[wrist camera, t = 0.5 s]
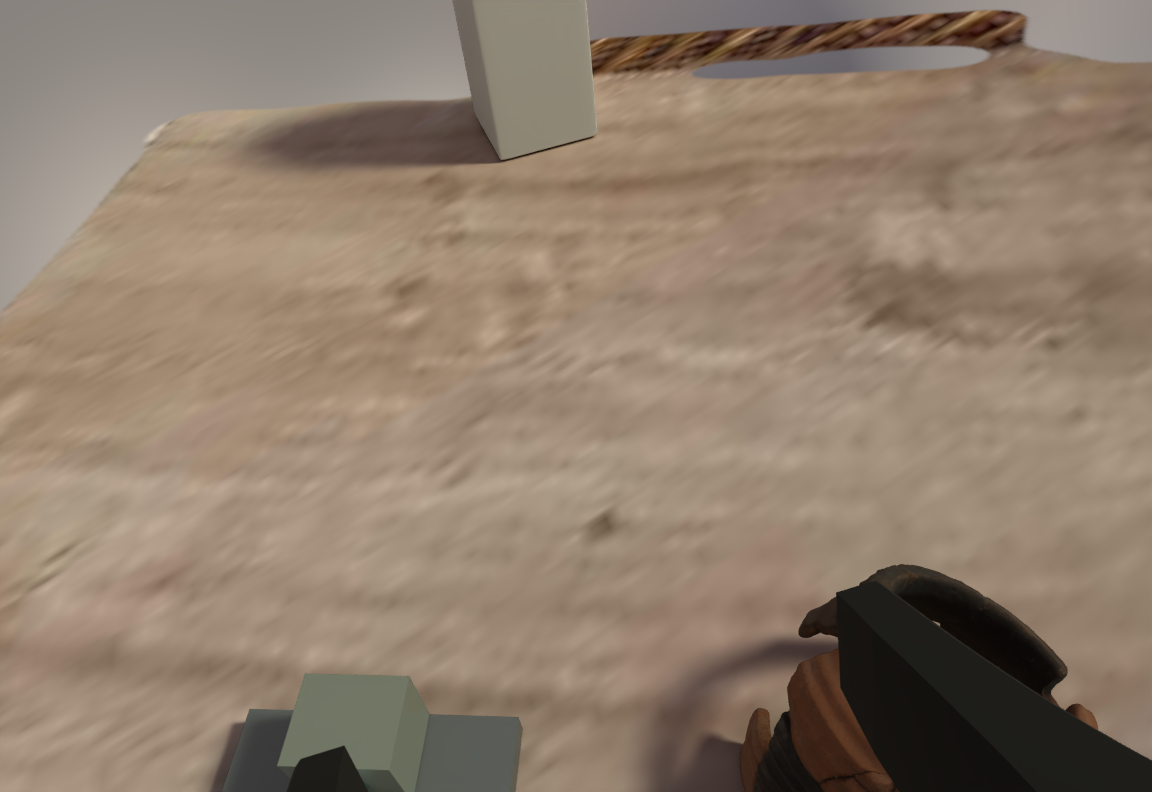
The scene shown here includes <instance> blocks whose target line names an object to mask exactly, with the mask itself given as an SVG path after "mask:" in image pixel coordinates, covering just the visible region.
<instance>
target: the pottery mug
mask: <svg viewBox="0 0 1152 792" xmlns="http://www.w3.org/2000/svg"><path fill="white" fill-rule="evenodd" d="M872 581H877V582H879V583H881V584H883V585H884V586H885V587H887V588H888V589H889V590H891V591H892V592H893V593H895V594H896V595H897V596H899V597H900V598H902V599H903V600H904V601H906V602H907V603H908V604H910V605H911V606H912V607H914V608H915V609H916V610H918V611H919V612H920V613H922V614H923V615H925V616H926V617H927V618H929V619H930V620H931V621H935V622H938V623H940V627H941V628H942V629H944V630H945V631H947V632H948V633H949V634H951V635H952V636H954V637H955V638H956V639H958V640H959V641H961V642H962V643H963V644H965V645H966V646H968V647H969V648H971V649H972V650H974V651H975V652H976V653H978V654H979V655H981V656H982V657H984V658H985V659H987V660H988V661H990V662H991V663H993V664H994V665H996V666H997V667H999V668H1000V669H1002V670H1003V671H1005V672H1006V673H1008V674H1009V675H1011V676H1012V677H1014V678H1015V679H1017V680H1018V681H1020V682H1021V683H1023V684H1024V685H1026V686H1027V687H1029V688H1030V689H1032V690H1033V691H1035V692H1036V693H1038V694H1040V695H1041V696H1043V697H1044V698H1046V699H1047V700H1049V701H1051V702H1052V703H1054V704H1055V705H1057V706H1059V705H1058V704H1057V702H1056V700H1055V699H1054V698H1053V697H1052V695H1051V690H1052V689H1053V688H1054V687H1055V685H1056V684H1058V683H1059V682H1061V681H1062V680H1063V679H1064V678H1065V677H1066V676H1067V670H1068V669H1067V667H1066V665H1065V664H1064V662H1063V661H1062V660H1061V659H1060V658H1059V657H1058V656H1057V655H1056V654H1055V652H1054V651H1053V650H1052V649H1051V648H1050V647H1049V646H1048V645H1047V644H1046V643H1045V642H1044V641H1043V640H1042V639H1041V638H1040V637H1039V636H1038V635H1037V634H1036V633H1035V632H1034V631H1033V630H1032V629H1030V628H1029V627H1028V626H1027V625H1026V624H1024V623H1023V622H1022V621H1020V620H1019V619H1018V618H1017V617H1016V616H1014V615H1013V614H1012V613H1010V612H1009V611H1008V610H1006V609H1005V608H1004V607H1002V606H1001V605H999V604H997V603H995V602H994V601H993V600H991V599H990V598H987V597H984V596H983V595H982V594H981V593H979V592H978V591H976V590H975V589H973V588H971V587H969V586H967V585H966V584H964V583H963V582H961V581H959V580H956V579H953V578H950V577H948V576H946V575H944V574H942V573H940V572H937V571H934V570H930V569H927V568H923V567H920V566H915V565H904V564H900V565H898V566H896V565H894V566H890V567H887V568H885V569H881V570H878V571H877V572H876V573H875V574H873V575H871V576H870V577H869V578H868V579H867V580H865V581H863V582H861V583H860V584H859V585H863V584H866V583H869V582H872ZM819 633H823V634H825V635H832V636H835V637H838V622H837V599H836V597H835V598H833V599H831V600H830V601H829V602H828V603H826V604H824V605H822V606H821V607H818V608H816V609H813V610H811V611H809V612H808V614H807V615H806V617H805V619H804V620H803V622H802V624H801V626H800V627H799V636H800V637H803V638H809V637H812V636H814V635H816V634H819ZM787 691H788V700H789V707H790V710H789V711H788V712H784V713H782V715H781V718H780V720H779V721H778V723H777V724H776V727H775V729H774V735H773V737H772V738H771V733H770V720H769V712H768V710H766V709H762V708H758V709H756V710H755V711H754V713H753V714H752V716H751V718H750V721H749V725H748V729H747V733H746V739H745V742H744V743H743V746H742V748H741V752H740V769H741V776H742V782H743V786H744V789H745V792H899V791H898V789H897V787H896V786H895V784H894V783H893V781H892V780H891V778H890V777H889V775H888V774H887V772H886V771H885V769H884V768H883V766H882V765H881V763H880V762H879V760H878V758H877V757H876V755H875V754H874V752H873V750H872V748H871V746H870V744H869V742H868V741H867V739H866V737H865V735H864V733H863V731H862V729H861V727H860V726H859V724H858V722H857V720H856V718H855V716H854V714H853V712H852V710H851V708H850V706H849V704H848V702H847V700H846V698H845V696H844V694H843V692H842V690H841V688H840V667H839V649H835V650H833V651H832V652H830V653H824V654H821V655H818V656H815V657H814V658H812V659H808V660H806V661H803V662H801V663H800V664H799V665H798V667H797V670H796V672H795V673H794V674H793V676H792V677H791V680H790V682H789V684H788V687H787ZM1059 707H1060V706H1059ZM1065 711H1067V712H1069V713H1070V714H1072V715H1073V716H1075V717H1077V718H1078V719H1080V720H1082V721H1083V722H1085V723H1087V724H1088V725H1090V726H1092V727H1093V728H1095V729H1097V730H1098V726H1097V722H1096V719H1095V717H1094V715H1093V713H1092V712H1090V711H1089V710H1087V709H1085V708H1084V707H1083V706H1082V705H1080V704H1073V705H1071V706H1069V707H1068V708H1067V709H1066V710H1065Z"/></svg>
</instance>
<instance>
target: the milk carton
mask: <svg viewBox="0 0 1152 792" xmlns="http://www.w3.org/2000/svg"><path fill="white" fill-rule="evenodd" d="M453 5H454V10H455V15H456V20H457V25H458V31H459V36H460V40H461V46H462V51H463V56H464V61H465V66H466V71H467V76H468V81H469V86H470V91H471V96H472V101H473V106H474V111H475V115H476V117H477V119H478V120H479V122H480V124H481V126H482V127H483V129H484V131H485V133H486V135H487V136H488V138H489V140H490V142H491V144H492V145H493V147H494V149H495V151H496V153H497V154H498V156H499V158H500V159H501V160H505V159H509V158H513V157H517V156H520V155H524V154H528V153H532V152H535V151H539V150H543V149H547V148H550V147H554V146H558V145H562V144H565V143H569V142H573V141H577V140H580V139H584V138H588V137H591V136H594V135H596V134H597V122H596V111H595V99H594V87H593V75H592V64H591V52H590V40H589V30H588V29H589V28H588V17H587V5H586V0H453Z"/></svg>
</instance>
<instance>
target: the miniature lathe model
mask: <svg viewBox="0 0 1152 792" xmlns="http://www.w3.org/2000/svg"><path fill="white" fill-rule="evenodd" d="M521 737H522V726H521V723H520V720H519V717H500V716H466V715H433V714H429V711H428V710H427V708H426V706H425V704H424V702H423V700H422V699H421V697H420V695H419V693H418V691H417V689H416V688H415V686H414V684H413V682H412V680H411V679H410V677H409V676H382V675H341V674H305V675H304V679H303V682H302V685H301V689H300V692H299V695H298V699H297V702H296V705H295V708H294V710H266V709H250V710H249V713H248V715H247V718H246V721H245V724H244V727H243V730H242V733H241V736H240V739H239V742H238V745H237V748H236V751H235V754H234V757H233V760H232V763H231V765H230V768H229V771H228V774H227V777H226V780H225V783H224V786H223V789H222V792H287V789H288V786H289V783H290V780H291V777H292V775H293V772H294V769H295V766H296V765H297V763H298V762H299V760H300V759H302V758H305V757H308V756H312V755H315V754H318V753H321V752H325V751H328V750H331V749H334V748H337V747H341V746H345V748H346V749H347V751H348V753H349V755H350V757H351V759H352V761H353V763H354V765H355V767H356V769H357V770H358V772H359V774H360V776H361V778H362V780H363V782H364V784H365V786H366V788H367V790H368V791H369V792H515V791H516V782H517V773H518V764H519V755H520V746H521Z"/></svg>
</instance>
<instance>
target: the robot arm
mask: <svg viewBox="0 0 1152 792" xmlns="http://www.w3.org/2000/svg"><path fill="white" fill-rule="evenodd" d="M836 599H837V622H838V645H839V667H840V688H841V690H842V692H843V694H844V696H845V698H846V700H847V702H848V704H849V706H850V708H851V710H852V712H853V714H854V716H855V718H856V720H857V722H858V724H859V726H860V727H861V729H862V731H863V733H864V735H865V737H866V739H867V741H868V742H869V744H870V746H871V748H872V750H873V752H874V754H875V755H876V757H877V758H878V760H879V762H880V763H881V765H882V766H883V768H884V769H885V771H886V772H887V774H888V775H889V777H890V778H891V780H892V781H893V783H894V784H895V786H896V787H897V789H898V791H899V792H1152V760H1150V759H1148V758H1146V757H1144V756H1143V755H1141V754H1139V753H1137V752H1135V751H1133V750H1132V749H1130V748H1128V747H1126V746H1125V745H1123V744H1121V743H1119V742H1117V741H1116V740H1114V739H1112V738H1110V737H1109V736H1107V735H1105V734H1104V733H1102V732H1100V731H1098V730H1097V729H1095V728H1093V727H1092V726H1090V725H1088V724H1087V723H1085V722H1083V721H1082V720H1080V719H1078V718H1077V717H1075V716H1073V715H1072V714H1070V713H1069V712H1067V711H1065V710H1064V709H1062V708H1060V707H1059V706H1057V705H1055V704H1054V703H1052V702H1051V701H1049V700H1047V699H1046V698H1044V697H1043V696H1041V695H1040V694H1038V693H1036V692H1035V691H1033V690H1032V689H1030V688H1029V687H1027V686H1026V685H1024V684H1023V683H1021V682H1020V681H1018V680H1017V679H1015V678H1014V677H1012V676H1011V675H1009V674H1008V673H1006V672H1005V671H1003V670H1002V669H1000V668H999V667H997V666H996V665H994V664H993V663H991V662H990V661H988V660H987V659H985V658H984V657H982V656H981V655H979V654H978V653H976V652H975V651H974V650H972V649H971V648H969V647H968V646H966V645H965V644H963V643H962V642H961V641H959V640H958V639H956V638H955V637H954V636H952V635H951V634H949V633H948V632H947V631H945V630H944V629H942V628H941V627H940V626H938V625H937V624H936V623H934V622H933V621H931V620H930V619H929V618H927V617H926V616H925V615H923V614H922V613H920V612H919V611H918V610H916V609H915V608H914V607H912V606H911V605H910V604H908V603H907V602H906V601H904V600H903V599H902V598H900V597H899V596H897V595H896V594H895V593H893V592H892V591H891V590H889V589H888V588H887V587H885V586H884V585H883V584H881V583H879V582H877V581H872V582H869V583H866V584H863V585H859V586H856V587H853V588H850V589H847V590H843V591H840V592H837V593H836ZM287 792H369V791H368V790H367V788H366V786H365V784H364V782H363V780H362V778H361V776H360V774H359V772H358V770H357V769H356V767H355V765H354V763H353V761H352V759H351V757H350V755H349V753H348V751H347V749H346V748H345V746H341V747H337V748H334V749H331V750H328V751H325V752H321V753H318V754H315V755H312V756H308V757H305V758H302V759H300V760H299V762H298V763H297V765H296V766H295V769H294V772H293V775H292V777H291V780H290V783H289V786H288V789H287Z"/></svg>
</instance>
